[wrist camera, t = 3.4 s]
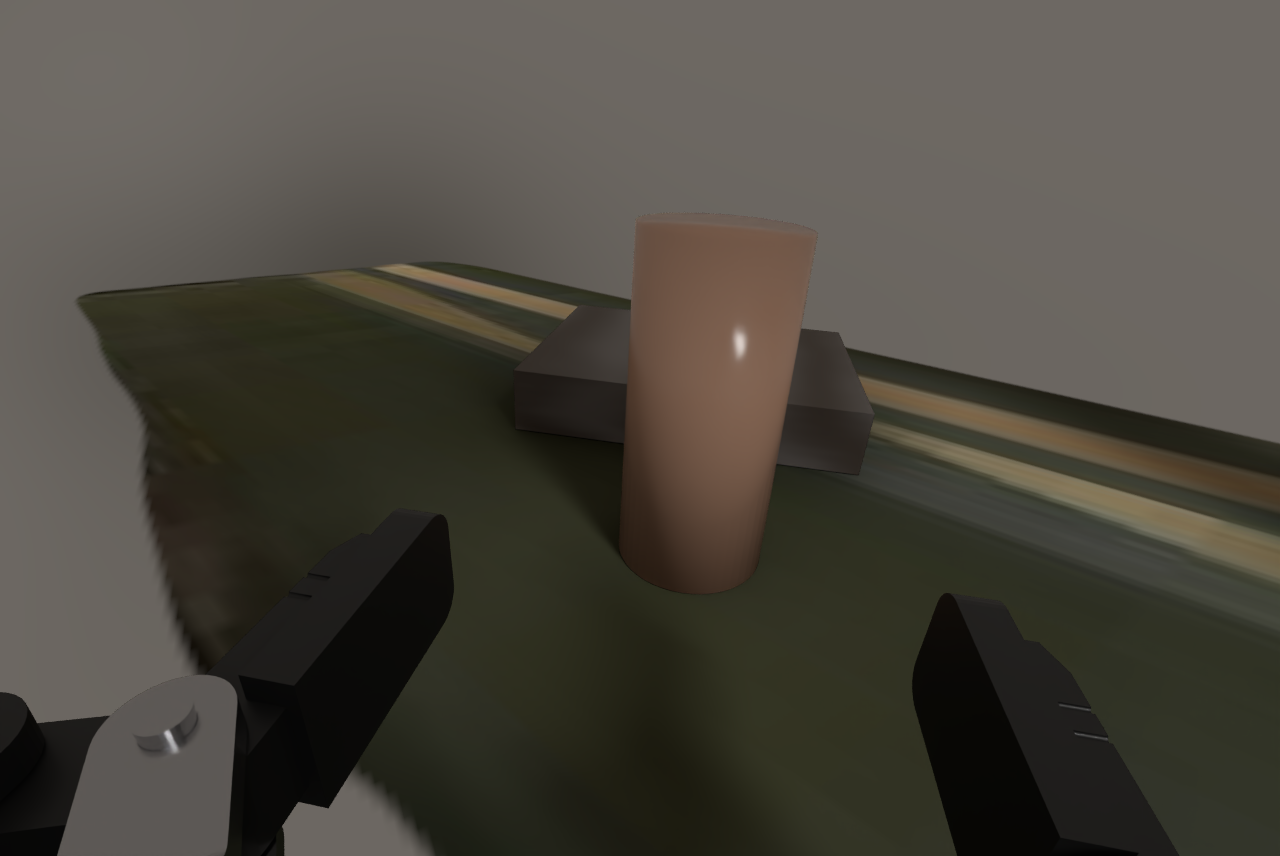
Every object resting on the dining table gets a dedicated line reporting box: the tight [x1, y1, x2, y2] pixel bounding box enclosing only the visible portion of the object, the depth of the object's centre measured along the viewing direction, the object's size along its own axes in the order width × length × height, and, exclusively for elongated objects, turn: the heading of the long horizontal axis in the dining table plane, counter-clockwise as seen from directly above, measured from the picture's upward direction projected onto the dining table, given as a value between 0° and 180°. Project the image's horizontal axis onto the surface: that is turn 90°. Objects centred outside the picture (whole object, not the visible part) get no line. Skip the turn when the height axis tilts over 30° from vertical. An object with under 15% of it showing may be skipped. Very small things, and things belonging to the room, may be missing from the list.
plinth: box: [514, 305, 875, 475], centre depth 33 cm, size 16×12×3 cm
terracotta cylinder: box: [619, 213, 818, 594], centre depth 19 cm, size 5×5×11 cm
